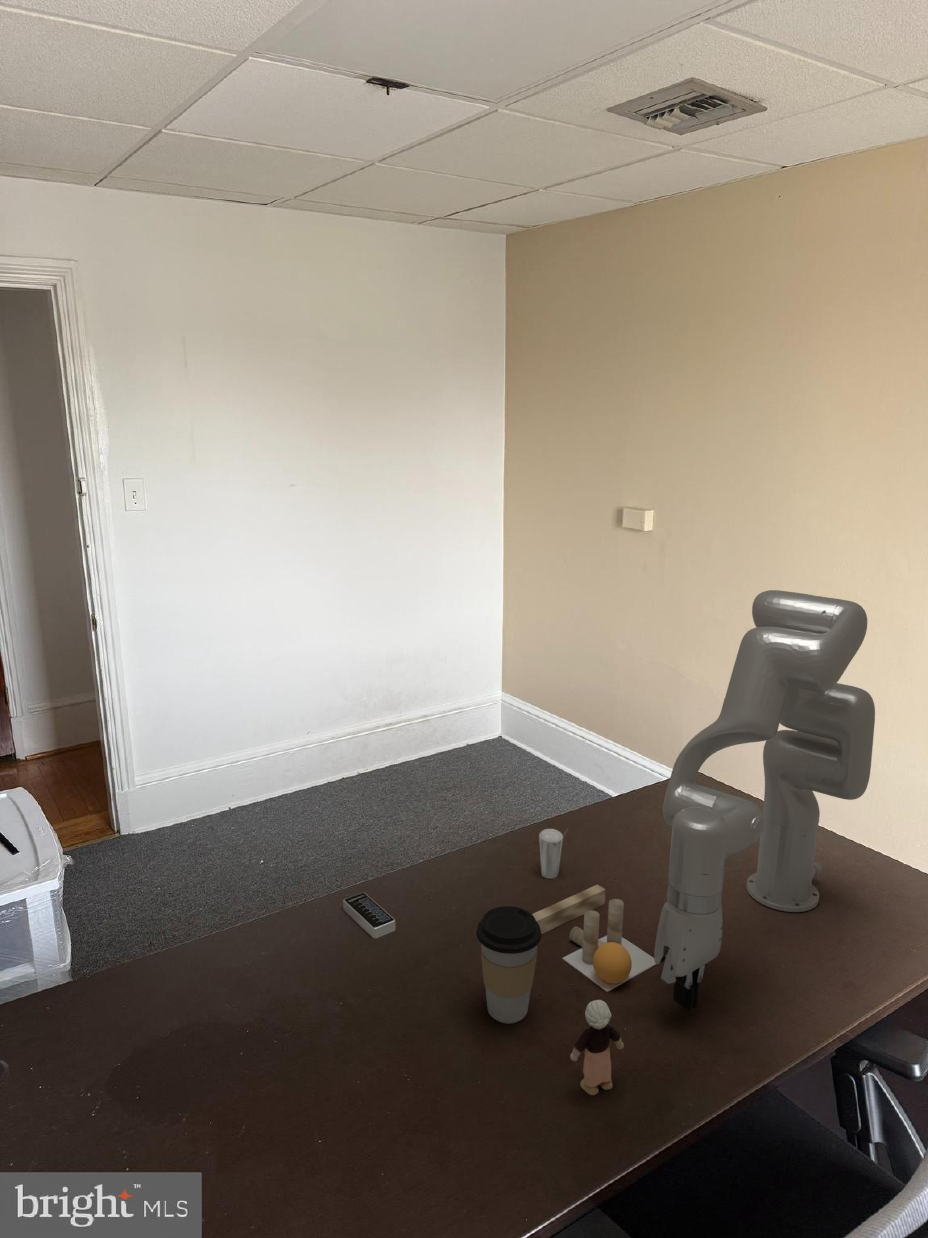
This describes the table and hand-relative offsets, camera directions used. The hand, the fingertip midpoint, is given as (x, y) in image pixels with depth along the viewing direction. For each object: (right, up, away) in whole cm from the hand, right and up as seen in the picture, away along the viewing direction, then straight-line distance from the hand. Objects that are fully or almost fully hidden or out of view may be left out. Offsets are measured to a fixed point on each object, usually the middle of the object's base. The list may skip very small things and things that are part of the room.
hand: (685, 1003), depth 127 cm
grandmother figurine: (-16, -5, -13) cm, 21 cm away
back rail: (-17, +4, +22) cm, 28 cm away
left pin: (-12, +2, +12) cm, 17 cm away
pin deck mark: (-9, +2, +12) cm, 15 cm away
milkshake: (-16, +8, +37) cm, 41 cm away
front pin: (-9, +2, +11) cm, 14 cm away
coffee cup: (-26, -1, +1) cm, 26 cm away
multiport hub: (-49, +4, +23) cm, 55 cm away
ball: (-10, +3, +7) cm, 12 cm away
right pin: (-8, +2, +15) cm, 17 cm away
